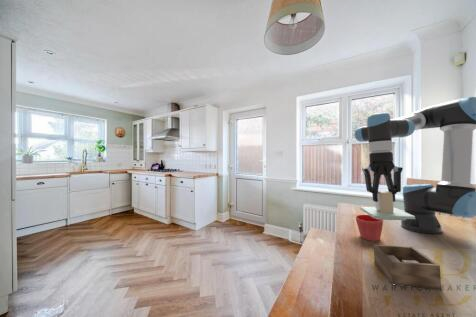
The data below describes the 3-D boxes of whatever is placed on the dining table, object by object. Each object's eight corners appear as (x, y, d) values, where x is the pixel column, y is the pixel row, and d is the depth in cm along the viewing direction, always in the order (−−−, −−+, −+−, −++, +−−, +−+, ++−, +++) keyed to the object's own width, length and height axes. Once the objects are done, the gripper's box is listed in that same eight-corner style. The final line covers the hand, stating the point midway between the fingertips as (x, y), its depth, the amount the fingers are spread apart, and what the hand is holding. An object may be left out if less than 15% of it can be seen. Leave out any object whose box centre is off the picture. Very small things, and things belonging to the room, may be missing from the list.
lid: (394, 211, 79) (392, 188, 79) (415, 221, 66) (413, 194, 66) (360, 211, 82) (358, 189, 82) (374, 220, 69) (372, 194, 69)
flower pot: (386, 244, 82) (384, 222, 82) (357, 240, 88) (355, 219, 88) (382, 235, 91) (381, 215, 91) (356, 232, 97) (355, 213, 97)
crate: (413, 266, 65) (412, 246, 65) (441, 289, 53) (439, 265, 53) (374, 263, 68) (373, 244, 68) (393, 285, 56) (391, 262, 56)
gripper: (399, 151, 76) (403, 207, 75) (354, 153, 80) (357, 207, 80) (411, 150, 69) (415, 212, 68) (361, 153, 73) (365, 211, 72)
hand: (384, 209), depth 74 cm, fingers closed on lid, 3 cm apart
